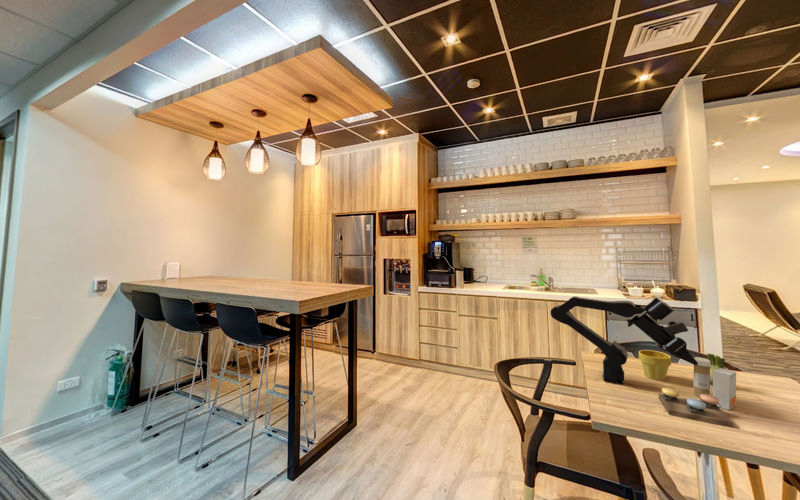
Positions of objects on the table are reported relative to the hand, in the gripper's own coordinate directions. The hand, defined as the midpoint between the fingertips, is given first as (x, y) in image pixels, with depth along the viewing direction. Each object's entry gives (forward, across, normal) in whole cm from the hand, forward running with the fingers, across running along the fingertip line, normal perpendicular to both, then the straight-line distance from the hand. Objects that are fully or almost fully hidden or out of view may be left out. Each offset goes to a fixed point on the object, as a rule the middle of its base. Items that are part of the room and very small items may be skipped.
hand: (693, 362), depth 108 cm
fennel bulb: (+14, +22, 0) cm, 26 cm away
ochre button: (+3, -6, +14) cm, 16 cm away
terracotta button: (+10, -6, +7) cm, 14 cm away
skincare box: (+15, +2, +5) cm, 16 cm away
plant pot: (+1, +19, +13) cm, 23 cm away
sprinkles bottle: (+11, +8, +7) cm, 15 cm away
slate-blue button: (+7, -12, +11) cm, 18 cm away
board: (+8, -8, +13) cm, 17 cm away
